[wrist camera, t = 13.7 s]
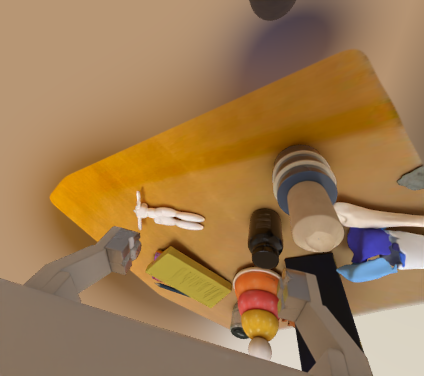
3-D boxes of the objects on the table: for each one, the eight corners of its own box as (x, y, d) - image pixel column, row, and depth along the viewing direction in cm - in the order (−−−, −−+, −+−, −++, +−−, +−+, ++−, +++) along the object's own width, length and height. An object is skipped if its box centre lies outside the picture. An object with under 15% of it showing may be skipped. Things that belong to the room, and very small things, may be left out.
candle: (280, 203, 34) (284, 249, 25) (299, 174, 31) (311, 215, 22) (312, 216, 34) (327, 268, 25) (335, 189, 31) (360, 236, 22)
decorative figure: (206, 206, 49) (129, 193, 49) (200, 244, 55) (132, 232, 56) (208, 198, 52) (135, 185, 52) (202, 235, 58) (137, 223, 59)
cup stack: (279, 138, 40) (282, 161, 30) (333, 147, 38) (354, 174, 29) (266, 183, 45) (266, 214, 35) (314, 193, 43) (327, 227, 34)
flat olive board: (167, 252, 54) (237, 294, 61) (170, 246, 56) (237, 287, 63) (145, 271, 60) (210, 308, 67) (148, 265, 62) (211, 301, 69)
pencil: (196, 296, 69) (155, 281, 63) (195, 299, 69) (153, 285, 63) (195, 295, 70) (154, 280, 64) (194, 298, 69) (153, 284, 63)
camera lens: (237, 299, 65) (233, 325, 59) (256, 306, 65) (255, 333, 58) (230, 309, 69) (226, 335, 62) (249, 316, 68) (247, 343, 62)
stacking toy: (224, 281, 62) (209, 359, 46) (251, 254, 55) (244, 335, 38) (266, 304, 63) (265, 388, 47) (298, 280, 56) (311, 371, 39)
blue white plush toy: (468, 301, 39) (542, 285, 30) (323, 283, 42) (351, 263, 33) (434, 237, 47) (485, 209, 38) (314, 225, 50) (334, 196, 41)
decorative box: (284, 259, 53) (294, 272, 59) (313, 446, 33) (324, 439, 39) (332, 252, 49) (338, 267, 54) (399, 463, 29) (397, 452, 34)
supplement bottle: (245, 224, 51) (240, 264, 41) (257, 203, 47) (254, 240, 37) (272, 235, 51) (273, 278, 41) (286, 214, 47) (291, 255, 37)
